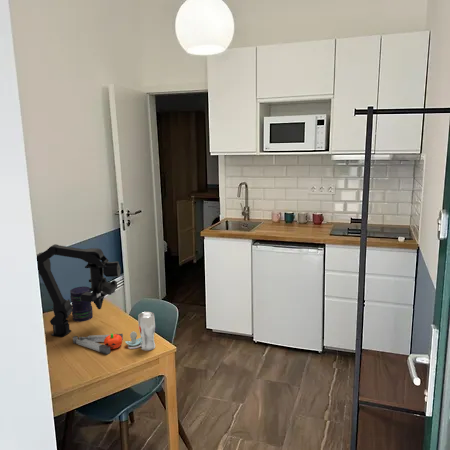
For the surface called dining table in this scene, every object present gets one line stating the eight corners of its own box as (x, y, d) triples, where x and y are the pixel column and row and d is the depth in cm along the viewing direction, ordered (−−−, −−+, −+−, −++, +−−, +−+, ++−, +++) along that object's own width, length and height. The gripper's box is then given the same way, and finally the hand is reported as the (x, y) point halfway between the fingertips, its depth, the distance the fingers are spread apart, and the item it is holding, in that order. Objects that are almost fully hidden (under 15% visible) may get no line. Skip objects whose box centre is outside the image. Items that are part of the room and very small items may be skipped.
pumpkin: (125, 348, 179) (125, 335, 177) (107, 353, 175) (106, 340, 173) (119, 340, 185) (118, 327, 183) (101, 345, 180) (100, 332, 178)
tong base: (72, 342, 183) (71, 336, 183) (75, 341, 185) (75, 335, 184) (106, 355, 172) (106, 348, 172) (110, 352, 174) (110, 346, 173)
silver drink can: (152, 352, 174) (150, 318, 171) (137, 350, 175) (135, 317, 172) (158, 344, 181) (156, 312, 178) (143, 342, 182) (141, 311, 179)
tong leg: (78, 343, 183) (78, 337, 182) (79, 340, 185) (79, 335, 184) (122, 341, 184) (121, 335, 183) (123, 339, 186) (122, 333, 185)
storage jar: (88, 312, 217) (85, 285, 214) (96, 317, 210) (94, 289, 207) (69, 317, 210) (66, 289, 207) (77, 323, 203) (74, 294, 200)
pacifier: (144, 347, 179) (141, 341, 184) (144, 334, 177) (140, 328, 182) (128, 351, 175) (124, 345, 181) (127, 338, 174) (123, 331, 179)
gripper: (100, 285, 176) (102, 319, 179) (123, 271, 193) (125, 303, 196) (78, 282, 179) (81, 316, 182) (103, 270, 197) (105, 300, 200)
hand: (99, 309), depth 190 cm, fingers closed
